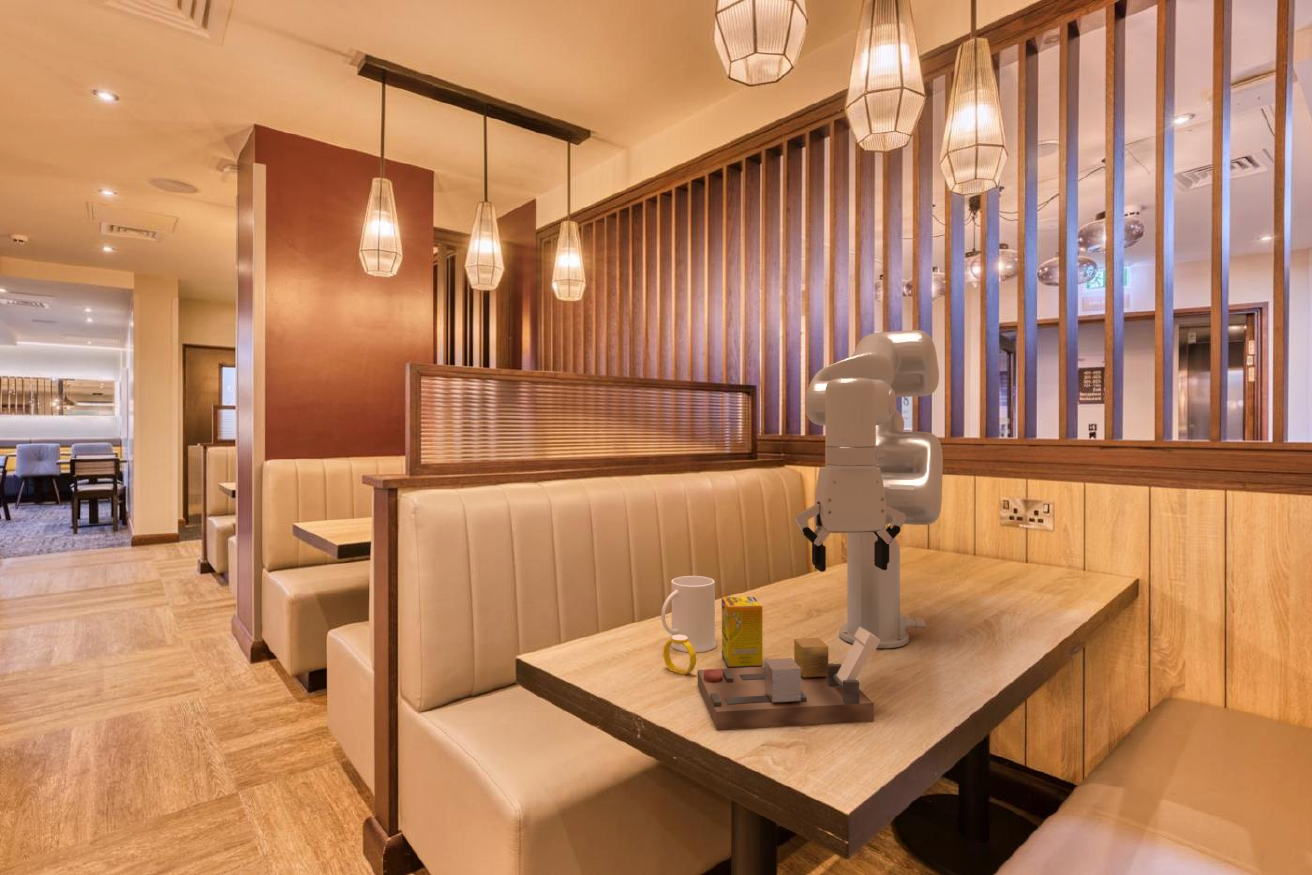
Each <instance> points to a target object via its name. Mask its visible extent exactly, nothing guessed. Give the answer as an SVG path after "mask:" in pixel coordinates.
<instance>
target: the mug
mask: <svg viewBox="0 0 1312 875" xmlns="http://www.w3.org/2000/svg"><path fill="white" fill-rule="evenodd" d="M670 582H671V584H670V586H671V593H670V594H669V595H668V596H667V597H666V599H665V600H664V603H663V605H662V608H661V614H660V615H661V617H660V618H661V623H662V626H663V628H664V630H665V631H666V632H667V633H668V634H670V635H671V637H672V636H673V635H685V636H687V637H688V641H689V642H690V643H691V644H692V646H693V648H694V650H695V653H704V652H709V651H712V650H713V649H715V648H716V647H717V640H716V597H715V596H716V583H715V579H713V578H711V577H707V576H701V575H686V576H685V575H684V576H678V577H675V578H673V579H671V581H670ZM670 602H671V628H670V626H668V625H667V621H666V612H667V611H666V610H667V608H668V605H669V604H670ZM670 647H672V649H673V650H677V651H680V652H684V653H688V651H687V649H686V647H685V646H684V645H683V644H675V643H673V642H672V644H671V645H670Z"/></svg>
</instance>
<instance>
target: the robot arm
mask: <svg viewBox="0 0 1312 875" xmlns="http://www.w3.org/2000/svg"><path fill="white" fill-rule="evenodd" d="M936 350H937V349H936V346H935V343H934V340H933V339H932V337H931V336H930V334H928V333H927V332H926V331H924V330H920V329H911V330H910V329H909V330H895V331H894V330H893V331H879V332H874V333H870V334H868V335H865V336H864V337H862V338H861V339H860V340H859V342H858V343H857V345H856V347H855V349H854V351H853V353H852V355H851V356H850V357H849V356H848V357H847V358H845V359H842V360H840V361H837V362H835V363H832V364H830V365H828V366H827V365H826V366H825V367H823V368H821V369H820V370H819V371H817V372H816V373H815V374H814V375H813V376H814V377H812V380H811V381H810V383H809V385H808V388H807V390H806V394H805V396H804V409H805V413H806V416H807V418H808V420H809V421H810V422H811V423H812V424H815V425H818V426H821V427H822V426H824V427H825V428H824V429H825V430H824V431H825V432H824V433H825V436H824V437H825V440H824V441H825V442H824V443H825V449H824V450H825V452H824V453H825V458H824V460H825V464H824V465H825V466H821V467H819V469H818V475H817V481H816V487H815V496H814V497H815V498H814V505H812V506H810V507H808V508H806V509H805V510H802V511H801V512H799V513H797V514H796V515H795V516H794V520H795V523H796V524H797V526H798V528H799V530H800V532H801V534H803V536H805V538H806V539H807V540H808V541H809V542H810V543H811V563H812V565H813V566H814V568H815V569H816V570H818V571H819V572H821V573H824V572H825V571H827V570H826V569H827V568H826V566H827V565H826V563H827V561H826V560H827V559H826V558H827V556H826V554H827V550H826V548H827V547H826V545H824V542H825V540H827V538H828V537H829V535H830V534H831V533H832V534H846V543H847V544H846V547H847V548H846V550H847V552H846V556H847V557H846V559H847V560H846V561H847V562H846V564H847V565H846V569H847V570H846V572H847V573H846V574H847V576H846V577H847V578H846V579H847V582H846V584H847V585H846V586H847V588H846V589H847V590H846V591H847V592H846V594H847V595H846V598H847V599H846V601H847V602H846V603H847V605H846V606H847V609H846V610H847V611H846V612H847V614H846V615H847V622H846V623H845V624H843V625H841V626H839V628H838V635H839V637H840V638H841V639H842V640H844V641H845V642H847V643H850V644H852V645H853V644H854V642H855V640H856V637H855V636H854V635H855V634H856V632H857V630H858V628H859V626H860V627H861V628H863V629H865V630H867V631H869V632H870V633H872V634H873V635H874V636H876V637H877V638H878V639H880V640H881V641H880V643H879V644H878V646H877V648H876V649H892V648H893V649H894V648H899V647H903V646H906V645H907V644H908V643H909V640H910V639H909V638H910V637H909V634H908V632H907V631H909V630H911V629H924V628H925V627H926V620H925V618H923V617H913V618H912V616H911V615H903V614H901V550H900V544H899V543H898V541H897V539H896V537H897V536H898V535H899V534H900V532H901V529H902V527H903V526H904V525H913V526H915V525H916V526H929V525H932V524H934V523H935V522H937V521H938V519H939V517H940V516H941V511H942V502H943V501H942V500H943V471H944V468H943V467H944V466H943V464H944V456H943V455H944V454H943V448H942V443H941V442H940V440H939V437H937V435H935V434H933V433H931V432H927V431H918V430H917V431H912V430H911V431H909V430H908V431H907V430H904V429H905V420H904V418H903V416H902V414H901V412H899V411H898V409H897V398H903V397H904V398H906V397H907V398H909V397H910V398H912V397H913V398H914V397H917V398H918V397H928V396H930V395H932V394H934V392H936V390H937V388H938V386H939V383H940V381H939V379H940V369H939V363H938V357H937V351H936ZM812 518H813V520H814V526H815V527H816V528H815V529H814V530H812V529H811V528H810V526H809V524H808V521H809V520H811V519H812ZM887 525H889V526H887Z"/></svg>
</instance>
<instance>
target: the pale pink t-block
mask: <svg viewBox="0 0 1312 875" xmlns="http://www.w3.org/2000/svg"><path fill="white" fill-rule="evenodd" d="M854 636H855V637H856V640H855V642H854V644H852V646H851V647H850V649H849V651H848V653H847V654H846V657H845V658H844V660H843V661H842V664H841V665H842V666H841V668H840V669H839V671H838V673H835V674H834V675H833V680H834V681H835V682H836V683H837V684H838V685H839V686H840V687H841V688H842V689H843V680H857V679H858V676H859V675H860V673H861V671H862V669H863V668H864V665H865V664H866V662H867V660H868V658H869V656H870V654H871V653H872V651H873V650H874V651H876V650H877V649H878V648H877V646H878V644H879V643H880V641H881V640H880V639H878V638H877V637H876V636H874V635H873V634H872V633H870V632H869V631H867V630H865V629H863V628H861V627H860V626H859V628H858V630H857V632H856V634H855V635H854Z"/></svg>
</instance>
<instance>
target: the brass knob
mask: <svg viewBox="0 0 1312 875" xmlns="http://www.w3.org/2000/svg"><path fill="white" fill-rule="evenodd" d="M793 640H794V641H793V645H794V646H793V647H794V648H793V651H794V652H793V653H794V654H793V657H794V659H793V660H794V661H795V663H796V664H797V665H798V666H799V667H800V668H801V676H802V677H819V676H827V664H828V663H829V645H828V644H827V643H825V641H823V640H822V639H821V638H820V637H808V638H807V637H806V638H805V637H804V638H803V637H802V638H794V639H793Z"/></svg>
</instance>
